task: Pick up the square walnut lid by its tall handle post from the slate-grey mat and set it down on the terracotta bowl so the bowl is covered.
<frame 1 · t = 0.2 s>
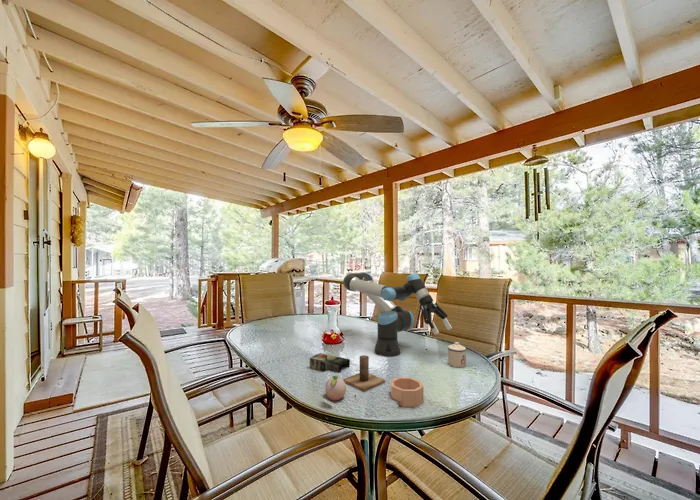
hand: (443, 331, 166), 15 cm above the table, tool tilted 35°, fingers open, 13 cm apart
juice carton: (329, 369, 153), on the table
bowl: (406, 398, 121), on the table
teacup with lid: (457, 364, 160), on the table
lid: (364, 382, 133), point 1 cm above the table, touching mat
mat: (364, 385, 133), on the table
decorative fruit: (335, 401, 120), on the table
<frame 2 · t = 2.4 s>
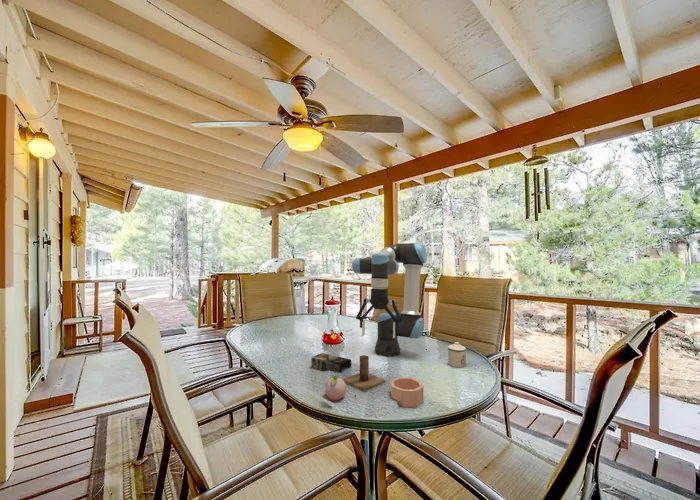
hand: (378, 336, 133), 22 cm above the table, tool pointing down, fingers open, 13 cm apart
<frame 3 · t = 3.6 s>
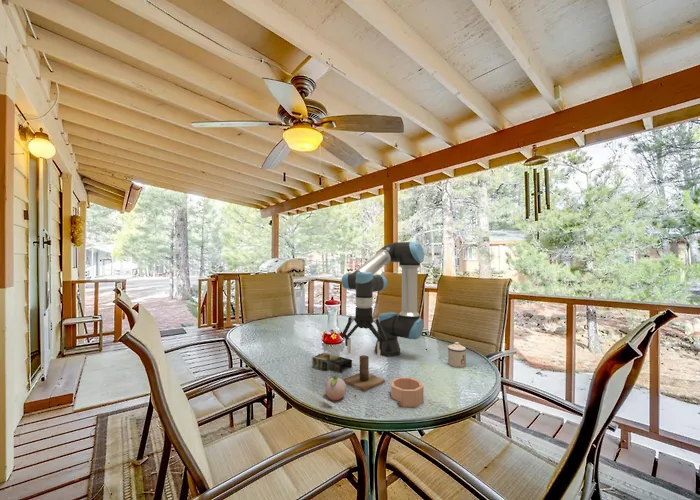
hand: (363, 355, 133), 14 cm above the table, tool pointing down, fingers open, 13 cm apart
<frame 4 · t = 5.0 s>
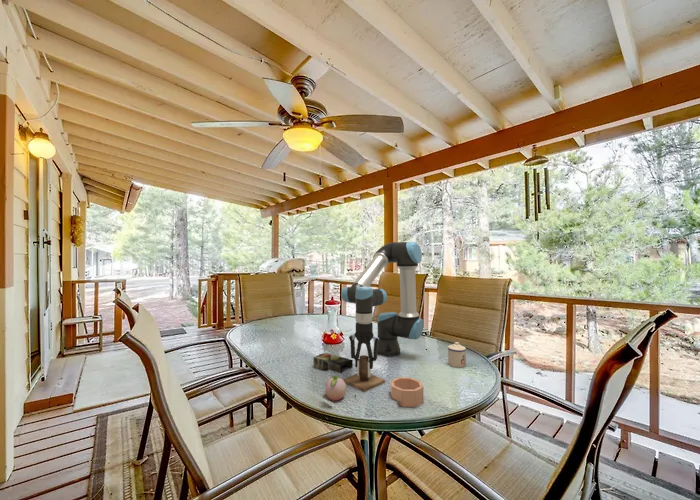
hand: (364, 375, 133), 5 cm above the table, tool pointing down, fingers closed on lid, 4 cm apart
lid: (364, 382, 133), point 1 cm above the table, touching gripper, mat
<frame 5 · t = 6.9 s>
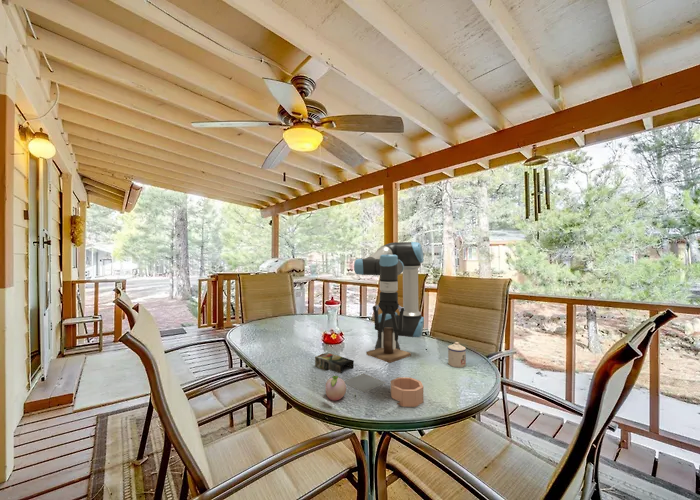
hand: (388, 347, 126), 19 cm above the table, tool pointing down, fingers closed on lid, 4 cm apart
lid: (388, 355, 126), point 16 cm above the table, touching gripper
when the fingers open (11 cm above the table, at t = 9.0 s): lid drops 2 cm, resting on bowl.
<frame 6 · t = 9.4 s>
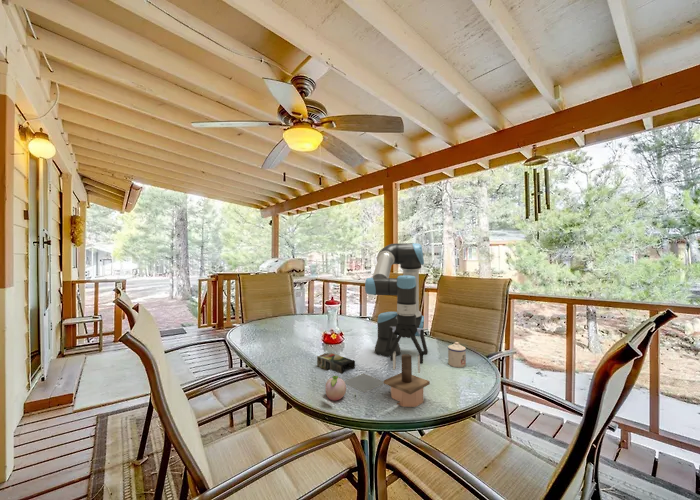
hand: (406, 370, 121), 12 cm above the table, tool pointing down, fingers open, 9 cm apart
lid: (406, 383, 121), point 6 cm above the table, touching bowl
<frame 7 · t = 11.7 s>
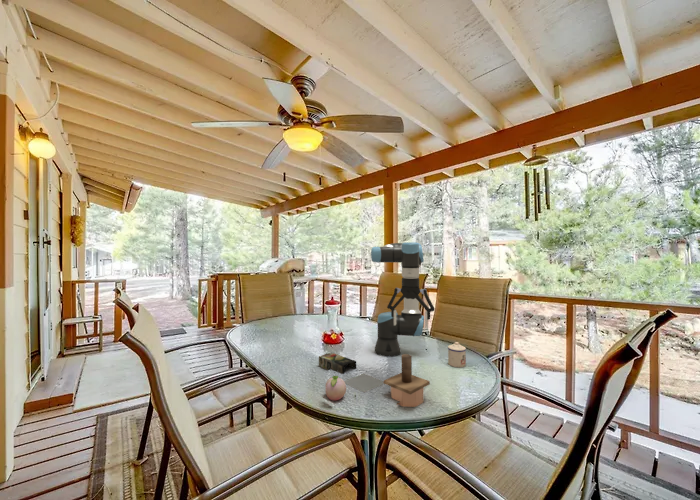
hand: (410, 325, 133), 27 cm above the table, tool pointing down, fingers open, 13 cm apart
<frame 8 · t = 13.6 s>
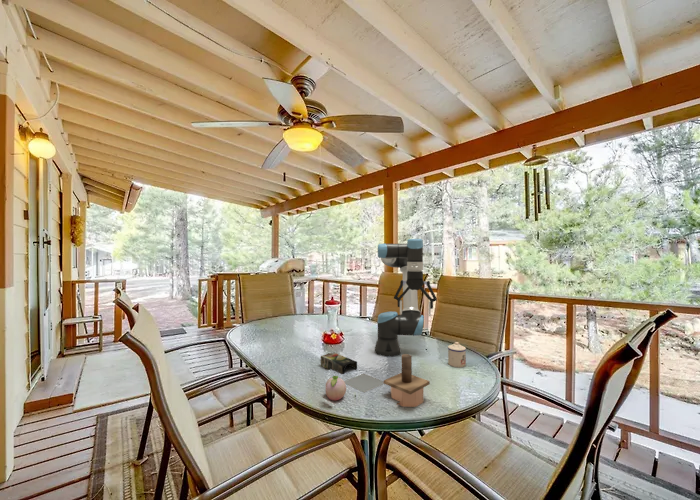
hand: (415, 314, 146), 29 cm above the table, tool pointing down, fingers open, 13 cm apart
at the end: lid 0.0 cm off-centre on the bowl, point 6.0 cm above the bowl's base; lid tilted 0°; the gripper is holding nothing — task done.
